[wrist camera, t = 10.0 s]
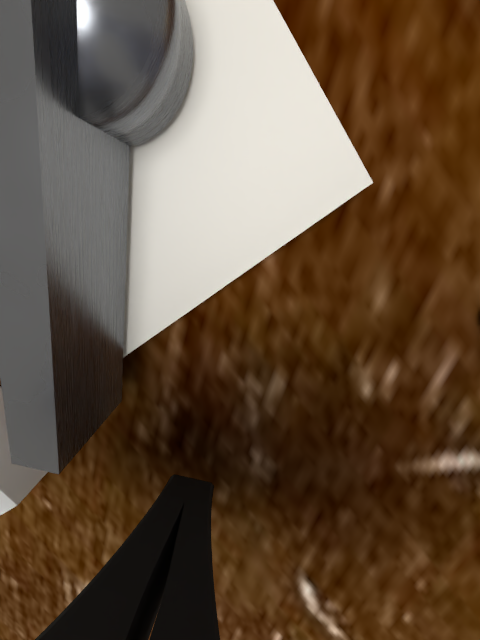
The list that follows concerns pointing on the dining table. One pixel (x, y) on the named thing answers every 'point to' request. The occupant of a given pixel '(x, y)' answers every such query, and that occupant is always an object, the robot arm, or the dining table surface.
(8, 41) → the dial lever
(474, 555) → the dining table surface
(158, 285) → the dial panel
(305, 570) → the dining table surface
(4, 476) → the tool holder
